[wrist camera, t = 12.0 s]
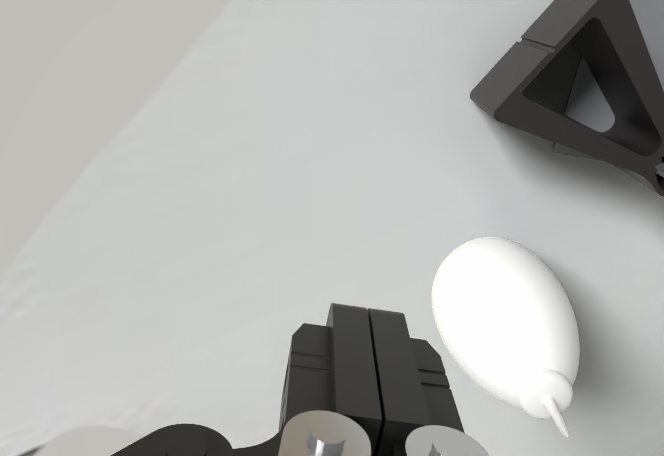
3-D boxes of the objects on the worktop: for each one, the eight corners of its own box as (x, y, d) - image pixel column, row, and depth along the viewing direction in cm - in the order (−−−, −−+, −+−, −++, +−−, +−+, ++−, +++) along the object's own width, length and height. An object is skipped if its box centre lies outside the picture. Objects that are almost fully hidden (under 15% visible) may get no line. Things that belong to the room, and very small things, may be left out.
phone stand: (618, -22, 31) (760, 129, 34) (573, -22, 37) (699, 108, 40) (491, 115, 34) (634, 244, 37) (467, 96, 39) (592, 210, 42)
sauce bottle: (551, 269, 45) (689, 442, 28) (464, 332, 46) (544, 530, 30) (487, 191, 42) (595, 329, 26) (397, 261, 44) (444, 432, 28)
